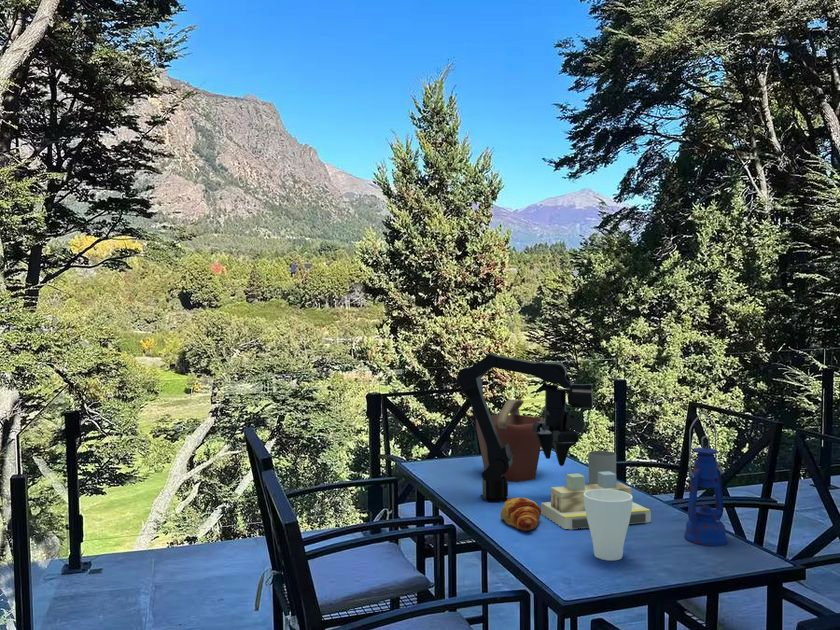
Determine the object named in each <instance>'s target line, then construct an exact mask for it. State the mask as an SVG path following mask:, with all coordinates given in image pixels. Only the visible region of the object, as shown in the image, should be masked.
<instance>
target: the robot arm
mask: <svg viewBox="0 0 840 630" xmlns="http://www.w3.org/2000/svg"><path fill="white" fill-rule="evenodd" d="M492 369H500V370H504V371H508V372H515V373H519V374H525V375H530V376H533V377H535V378H538V379H540V380H543V383H542V385H540V386H539V387H538V391H540V392H541V391H543V392H544V391H545V392H544V393H545V395H544V396H545V397H544V409H542V410H541V411H542V414H544V420H543V421H540V422H535V423H534V424H533V431H534V432H537V433H535V435H536V437H537V439H538V441H539V443H540V445H541V450H542V451H543V455H544V457H545V459H551V454H552V447H553V448H554V451H555V456H556V458H557V462H558V465H559V466H560V467H563V466H565V463H566V459H567V456H568V454H569V451H570V450H571V449H570V448H571V447H573V446H575V445H577V444H578V443H579V442H580V434H583V431H584V429H585V425H586V422H585V421H582V420H580V419H577V418H576V415H575V414H572V413H570V412H569V411H567V409H566V408H567V404H568V405H570V406H571V408H572V409H589V410H592V409H593V408H594V394H593V384H592V383H585V384H583V383H582V384H581V383H580V384H578V383H574V382H573V380H572V379H571V378H570V377H569V376H568V371H567V367H566V366H565V365H564V363H562V362H560V361H532V360H527V359H521V358H516V357H512V356H505V355H500V354H497V353H490V354H487V355H485V356H484V358H482V359H481V360H479V361H478V362H476V363H475V364H473V365H471V366H466V367H463V368H461V369H460V370H459V371H458V372H457V374H456V381H457V384H458V386H459V387H460V388H461V390H462V392H463V394H464V395H465V396H466V397H467V398H468V400H469V402H470V404H471V408H472V410H473V413H474V415H475V418H476V419H477V421H478V424H479V426H480V429H481V432H482V434H483V437H484V440H485V442H486V446H487V457H488V462H489V466H488V467H487V468H486V469H485V470H484V469H483V471H482V472H481V477H482V488H481V489H482V490H481V491H482V494H480V497H481V498H482V499H483V500H485V501H486V503H487V502H488V503H494V502H506V501H507V499H509V482H508V481H506V478H505V477H504V476H503V475H505V473H506V472H507V471H508V470H509V469H510V467H511V466H512V463H513V460H512V458H513V456H514V455H513V454H512V453H511V451H510V446H509V444H506V445H504V444H503V443H502V441H501V440H500V438H499V436H498V433H497V430H496V428H495V425H494V422H493V420H492V417H491V415H492V414H491V413H490V409H489V407H488V404H487V402H486V398H485V396H484V390H483V389H484V388H483V381H482V376H483V375H485V374H487V373H489V371H491V370H492ZM548 383H549V384H548ZM559 386H560V387H559ZM561 387H562V388H561ZM566 401H567V403H566ZM579 433H580V434H579Z"/></svg>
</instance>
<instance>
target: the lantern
mask: <svg viewBox="0 0 840 630" xmlns="http://www.w3.org/2000/svg"><path fill="white" fill-rule="evenodd" d="M702 415H704V416H705V417H706V418H708V419H709V421H711V423H712V424H713V427H714V448H710V446H711V445H710V444H711V440H710V437H709V436H708V435H704V436H702V437H701V440H700V442H701V447H696V448H693V451H694V453H696V456H697V459H695V460H694V465H693V467H694V469H693V470H692V469H691V467H692V466H691V465H692V456H691V454H692V453H691V452H692V451H691V450H692V449H691V448H692V447H691V446H692V445H691V443H692V441H691V440H692V439H691V437H692V435H691V433H692V428H693V426H694V425H695V423H696V422H697V420H698V419H700V417H701V416H702ZM688 431H689V432H688V434H689V435H688V437H689V439H688V458H689V459H688V460H689V461H688V462H689V463H688V464H689V465H688V466H689V478H690V485H689V494H688V495H689V496H688V505H687V517H688V520H687V521H686V524H685V531H684V536H683V537H684V538H685V540H686V541H688V542H690V543H693V544H697V545H701V546H707V547H721V546H726V545H727V543H728V541H729V540H728V536H727V533H726V532H727V531H726V526H725V523H724V522H722V521H721V518H722V517H723V514H724V502H723V501H724V500H723V499H724V498H723V490H722V478H721V475H722V474H723V471H722V469H720V468H719V464H718V462H717V455H718V450H717V427H716V424H715V422H714V421H713V419H712V418H711V417H710V416H709V415H707V414H706V413H705V412H704V411H703V412H700V414H699V415H698V416H697V417H696V418H695V419H694V420H693V422H692V423H691V425H690V428H689V430H688ZM705 438H707V445H706V446H705V447H704V439H705ZM714 457H715V458H714ZM699 487H701V488H710V489H711V488H713V491H714V500H715V501H714V502H715V507H711V506H709V505H707V504H703V505H701V506H697V499H698V498H697V497H698V488H699Z"/></svg>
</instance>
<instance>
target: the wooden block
mask: <svg viewBox="0 0 840 630" xmlns="http://www.w3.org/2000/svg"><path fill="white" fill-rule="evenodd" d="M593 489H604V488H602V487H600V486H598V484H590V485H589V484H585V490H578V491H572V490H570V489H568V488H566V485H565V486H554V487H553V486H551V487H550V502H551V507H553V508H555V509H556V510H559V512H561V513H565V512H578V511H585V506H584V492H585V491H588V490H593ZM605 489H612V490H619V491H623V492H627V493H629V494H631V495H632V487H631V486H628V485H625V484H624V483H622V482H620V481H619V482H616V488H605Z"/></svg>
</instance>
